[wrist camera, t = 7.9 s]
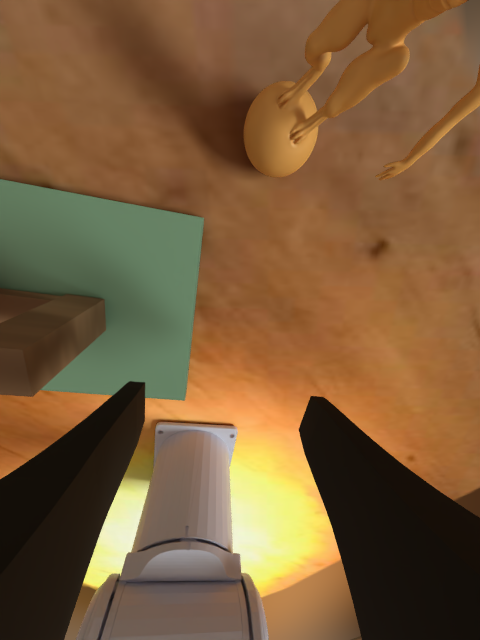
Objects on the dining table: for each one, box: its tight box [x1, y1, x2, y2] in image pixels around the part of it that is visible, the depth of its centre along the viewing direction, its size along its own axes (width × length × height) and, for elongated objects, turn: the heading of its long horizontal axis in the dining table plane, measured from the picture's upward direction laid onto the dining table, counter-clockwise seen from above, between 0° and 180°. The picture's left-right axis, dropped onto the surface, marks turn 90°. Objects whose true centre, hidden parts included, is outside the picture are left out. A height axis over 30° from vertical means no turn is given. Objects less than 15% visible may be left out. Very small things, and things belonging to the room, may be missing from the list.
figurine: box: [244, 0, 480, 180], centre depth 8 cm, size 8×6×12 cm
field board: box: [0, 179, 204, 400], centre depth 16 cm, size 15×21×1 cm
